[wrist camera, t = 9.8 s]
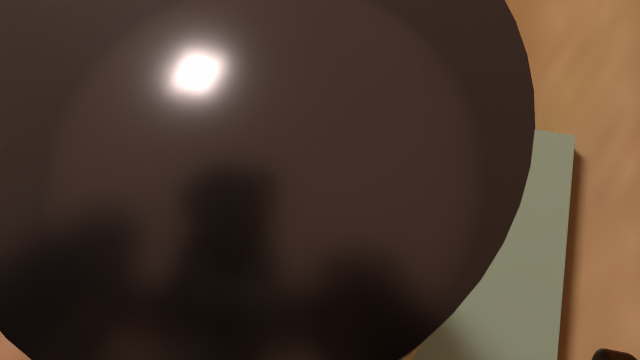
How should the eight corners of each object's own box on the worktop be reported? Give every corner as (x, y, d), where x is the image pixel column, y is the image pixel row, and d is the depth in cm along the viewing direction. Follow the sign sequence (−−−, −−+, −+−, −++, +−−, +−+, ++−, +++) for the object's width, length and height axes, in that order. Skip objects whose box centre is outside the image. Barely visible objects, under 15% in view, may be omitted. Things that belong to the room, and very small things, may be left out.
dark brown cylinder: (343, 449, 16) (261, 613, 4) (197, 322, 18) (-197, 154, 5) (458, 290, 18) (672, 34, 5) (312, 183, 19) (205, -217, 7)
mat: (529, 610, 15) (535, 618, 15) (56, 487, 17) (46, 490, 17) (568, 143, 20) (575, 135, 19) (184, 82, 21) (179, 73, 21)
